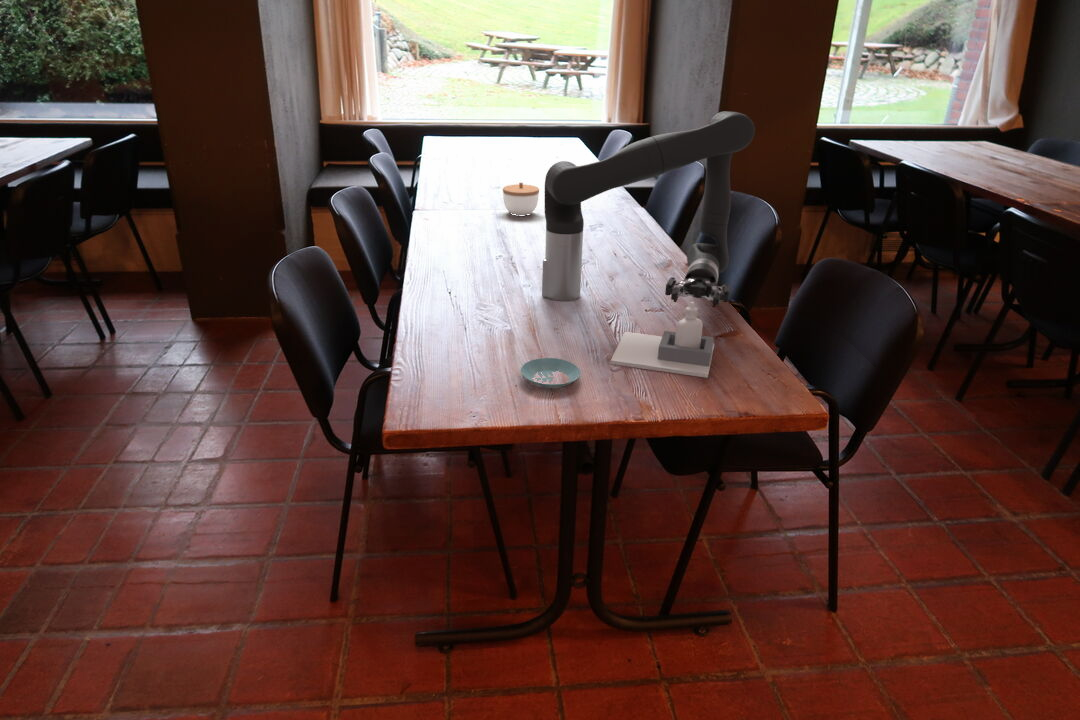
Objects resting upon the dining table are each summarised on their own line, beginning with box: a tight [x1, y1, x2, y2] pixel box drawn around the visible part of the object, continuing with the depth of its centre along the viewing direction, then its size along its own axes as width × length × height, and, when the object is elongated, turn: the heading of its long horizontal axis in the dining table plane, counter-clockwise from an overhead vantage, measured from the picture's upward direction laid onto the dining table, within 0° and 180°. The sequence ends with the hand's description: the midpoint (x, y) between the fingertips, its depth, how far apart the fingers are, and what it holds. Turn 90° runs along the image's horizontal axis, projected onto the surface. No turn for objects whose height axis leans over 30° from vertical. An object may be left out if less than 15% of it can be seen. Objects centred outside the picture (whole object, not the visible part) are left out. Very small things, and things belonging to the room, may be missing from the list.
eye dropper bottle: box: [674, 301, 704, 349], centre depth 157 cm, size 4×6×12 cm
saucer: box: [520, 357, 581, 389], centre depth 150 cm, size 12×12×2 cm
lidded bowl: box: [502, 182, 540, 215], centre depth 264 cm, size 13×13×11 cm
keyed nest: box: [610, 330, 715, 379], centre depth 161 cm, size 20×16×4 cm
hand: (694, 300), depth 166 cm, fingers open, 8 cm apart
